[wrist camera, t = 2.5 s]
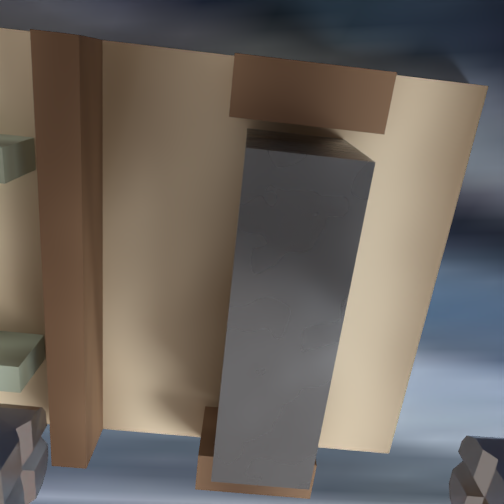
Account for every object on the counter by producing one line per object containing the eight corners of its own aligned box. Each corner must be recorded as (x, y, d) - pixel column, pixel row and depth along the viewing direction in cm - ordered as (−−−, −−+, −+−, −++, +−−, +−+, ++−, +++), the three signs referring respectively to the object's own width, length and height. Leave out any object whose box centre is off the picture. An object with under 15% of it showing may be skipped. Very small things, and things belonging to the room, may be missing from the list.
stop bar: (247, 128, 15) (245, 147, 11) (344, 138, 15) (375, 162, 11) (219, 396, 18) (210, 481, 14) (297, 404, 18) (309, 489, 14)
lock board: (471, 84, 15) (535, 88, 12) (381, 432, 20) (408, 506, 17) (-309, -8, 14) (-487, -34, 11) (-203, 380, 19) (-302, 448, 16)
